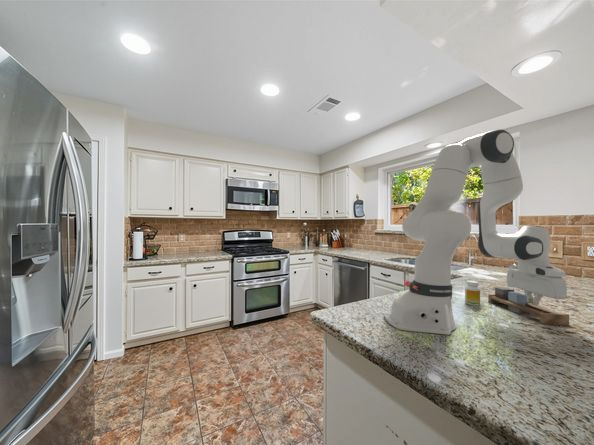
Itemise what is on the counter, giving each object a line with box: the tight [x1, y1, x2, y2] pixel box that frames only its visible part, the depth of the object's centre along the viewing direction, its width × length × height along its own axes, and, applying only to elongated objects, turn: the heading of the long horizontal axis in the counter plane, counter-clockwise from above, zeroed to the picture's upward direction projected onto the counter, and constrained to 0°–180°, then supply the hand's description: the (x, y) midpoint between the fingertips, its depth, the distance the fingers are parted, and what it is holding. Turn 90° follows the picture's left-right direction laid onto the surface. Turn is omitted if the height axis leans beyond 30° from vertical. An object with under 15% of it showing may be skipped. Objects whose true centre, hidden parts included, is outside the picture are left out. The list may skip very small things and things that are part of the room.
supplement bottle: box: [464, 280, 481, 307], centre depth 106 cm, size 5×5×10 cm
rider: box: [508, 291, 530, 306], centre depth 99 cm, size 5×4×4 cm
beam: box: [487, 286, 570, 326], centre depth 97 cm, size 9×24×7 cm, turn 0°
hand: (533, 303), depth 93 cm, fingers closed
